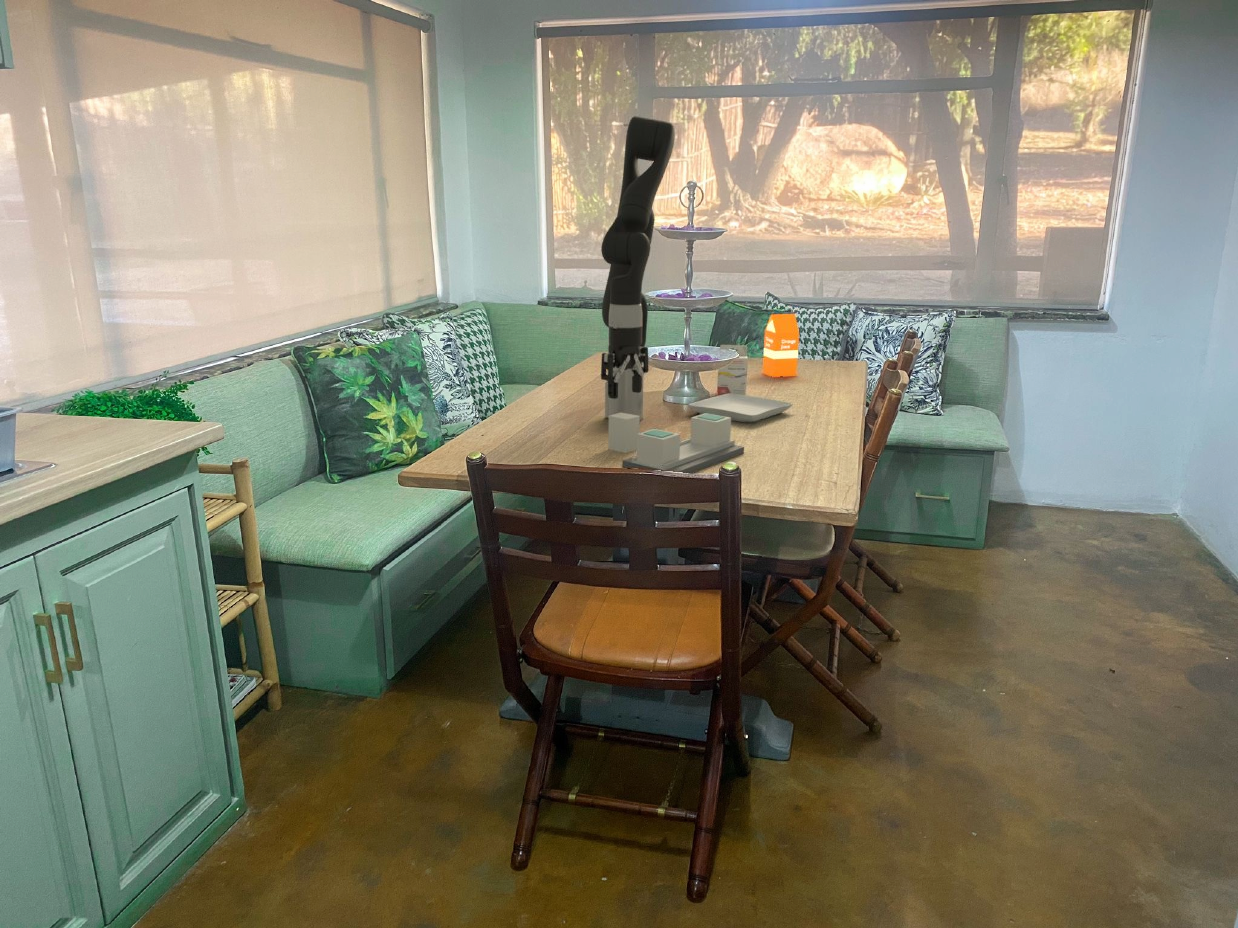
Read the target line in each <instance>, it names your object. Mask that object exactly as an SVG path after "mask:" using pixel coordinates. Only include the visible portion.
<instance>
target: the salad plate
mask: <svg viewBox="0 0 1238 928" xmlns="http://www.w3.org/2000/svg"><path fill="white" fill-rule="evenodd" d="M792 406H793V403H792V402H788V401H782V400H776V399H771V398H767V397H760V396H752V395H747V394H746V395H739V394H732V393H728V394H724V395H720V396H717V395H716V396H713V397H708V398H706V399H702V400H701V399H700V400H698V401H695V402H691V403H689V404H688V407H689V408H690V409H691V410H693V411H694V412H696V413H698V414H700V415H701V414H705V413H708V414H714V415H719V416H725V417H730V418H731V421H733V422H740V423H741V422H742V423H755V422H758V421H761V419H762V420H764V419H767V418H770V416H771V417H773V415H774V416H776V415H779V414H781V413H785V412H786V411H787V410H789V409H790V408H792Z"/></svg>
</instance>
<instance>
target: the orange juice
mask: <svg viewBox="0 0 1238 928" xmlns="http://www.w3.org/2000/svg"><path fill="white" fill-rule="evenodd" d="M797 321H798V320H797V318H796V314H795V313H782V314H781V313H780V314H771V315H770V317H769V320H768V322H767V325H766V328H765V329H764V341H763V342H764V344H763V362H762V363H763V364H762V374H765V376H766V375H767V376H769V377H771V376H772V378H781V377H780V376H783V377H796V376H797V373H798V372H797V371H798V358H799V343H800V341H799V339H800V331H799V327H798V322H797Z"/></svg>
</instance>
